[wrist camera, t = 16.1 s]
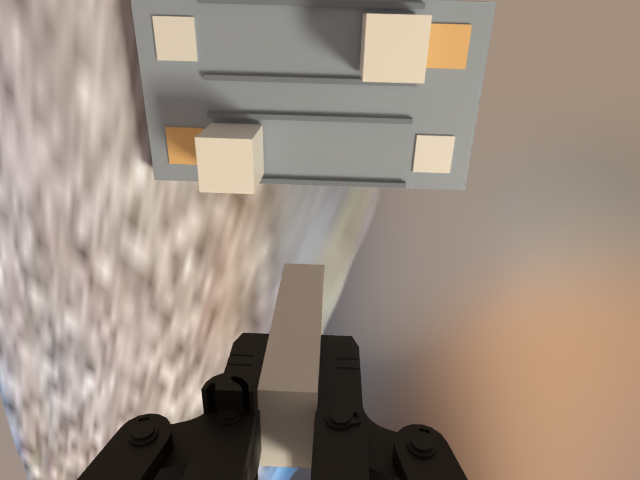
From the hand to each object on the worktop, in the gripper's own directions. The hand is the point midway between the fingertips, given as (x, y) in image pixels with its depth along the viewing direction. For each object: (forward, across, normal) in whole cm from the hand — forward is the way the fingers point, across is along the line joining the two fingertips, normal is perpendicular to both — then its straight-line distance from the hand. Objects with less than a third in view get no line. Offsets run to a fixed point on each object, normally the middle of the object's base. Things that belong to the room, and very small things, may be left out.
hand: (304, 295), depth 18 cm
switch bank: (+24, -1, +4) cm, 24 cm away
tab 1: (+22, -7, 0) cm, 23 cm away
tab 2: (+22, +5, +8) cm, 24 cm away
